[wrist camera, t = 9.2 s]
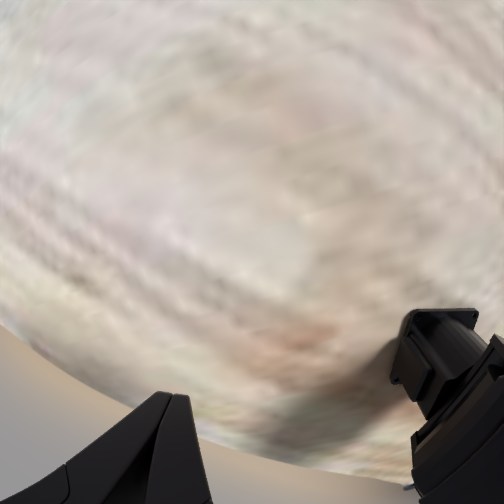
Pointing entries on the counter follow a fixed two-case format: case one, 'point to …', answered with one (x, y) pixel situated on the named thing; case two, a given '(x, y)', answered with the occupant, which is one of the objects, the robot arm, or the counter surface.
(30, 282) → the counter surface
